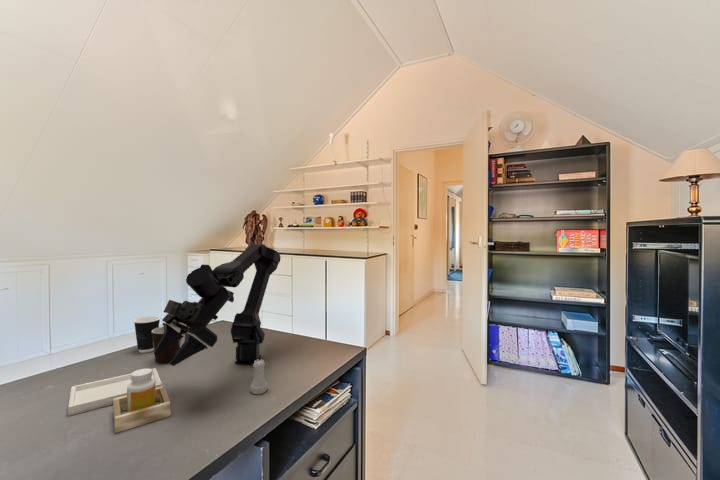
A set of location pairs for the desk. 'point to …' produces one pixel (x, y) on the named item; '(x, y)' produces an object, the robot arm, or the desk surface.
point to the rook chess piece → (258, 378)
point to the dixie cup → (145, 332)
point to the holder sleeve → (140, 411)
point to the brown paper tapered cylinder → (167, 354)
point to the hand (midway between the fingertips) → (162, 359)
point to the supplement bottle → (141, 390)
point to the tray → (101, 393)
